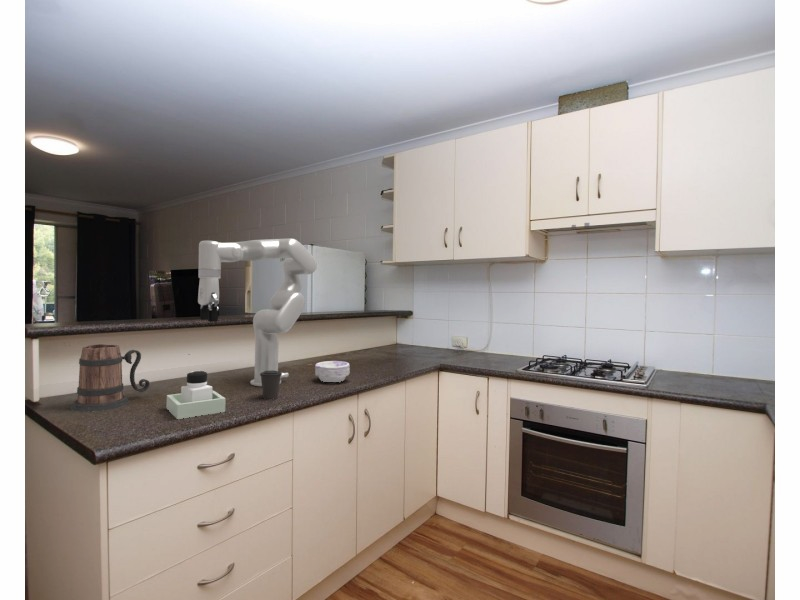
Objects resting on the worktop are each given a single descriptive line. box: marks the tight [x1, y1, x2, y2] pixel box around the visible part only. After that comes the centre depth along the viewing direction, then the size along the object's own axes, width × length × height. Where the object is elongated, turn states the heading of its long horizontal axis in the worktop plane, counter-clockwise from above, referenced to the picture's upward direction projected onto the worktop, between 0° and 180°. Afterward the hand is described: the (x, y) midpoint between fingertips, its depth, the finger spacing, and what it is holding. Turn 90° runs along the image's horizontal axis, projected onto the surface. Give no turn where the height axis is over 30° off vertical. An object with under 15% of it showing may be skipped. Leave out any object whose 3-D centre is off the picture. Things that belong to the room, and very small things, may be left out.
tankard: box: [69, 343, 150, 413], centre depth 147 cm, size 24×17×20 cm
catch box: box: [166, 390, 227, 420], centre depth 142 cm, size 14×14×4 cm
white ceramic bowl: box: [314, 360, 351, 383], centre depth 191 cm, size 15×15×8 cm
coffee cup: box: [260, 370, 283, 400], centre depth 160 cm, size 8×8×10 cm
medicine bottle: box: [180, 370, 214, 404], centre depth 142 cm, size 7×7×12 cm
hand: (208, 320), depth 159 cm, fingers open, 9 cm apart
